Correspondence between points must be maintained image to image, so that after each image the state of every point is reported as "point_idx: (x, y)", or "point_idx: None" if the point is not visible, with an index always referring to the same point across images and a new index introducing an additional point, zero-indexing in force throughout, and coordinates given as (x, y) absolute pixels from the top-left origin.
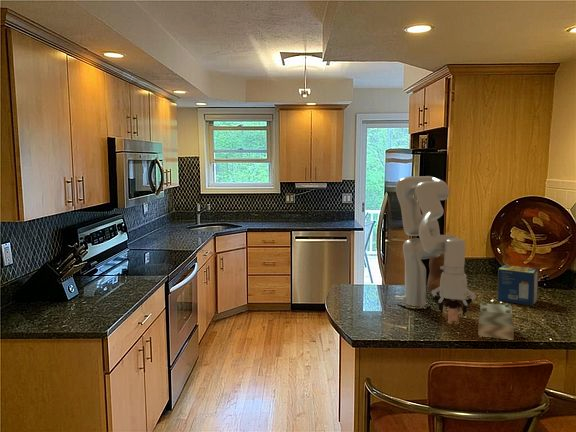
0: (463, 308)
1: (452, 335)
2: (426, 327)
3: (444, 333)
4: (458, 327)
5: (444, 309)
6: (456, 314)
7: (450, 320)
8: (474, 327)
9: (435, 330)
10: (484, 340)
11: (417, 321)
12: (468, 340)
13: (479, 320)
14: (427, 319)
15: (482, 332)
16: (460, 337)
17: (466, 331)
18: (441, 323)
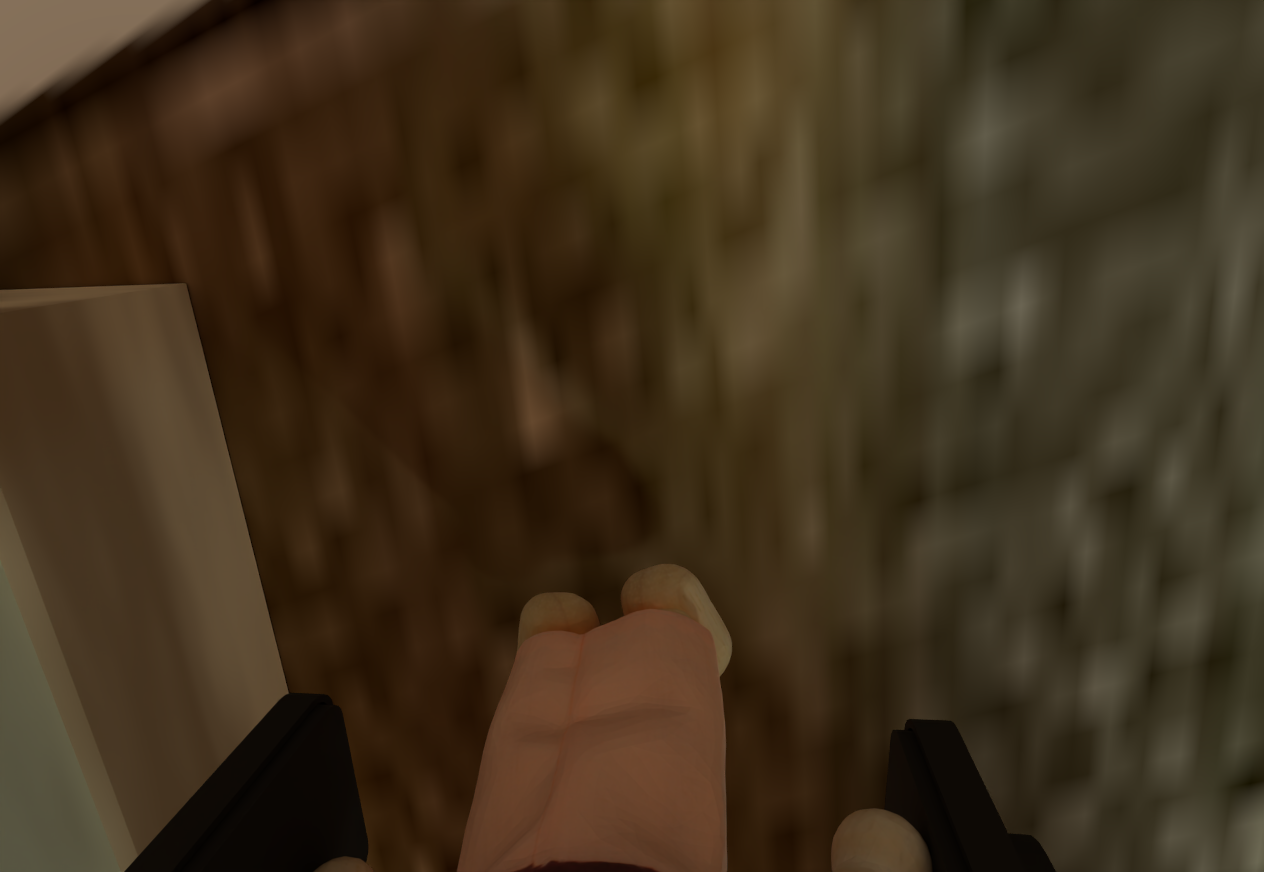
0: (187, 869)
1: (605, 209)
2: (1106, 483)
3: (759, 267)
4: None
5: (852, 814)
6: (510, 740)
7: (665, 617)
8: (341, 700)
9: (934, 376)
10: (58, 157)
11: (1254, 730)
12: (291, 33)
13: (25, 605)
14: (1060, 849)
15: (38, 299)
16: (453, 151)
17: (413, 500)
18: (830, 737)
